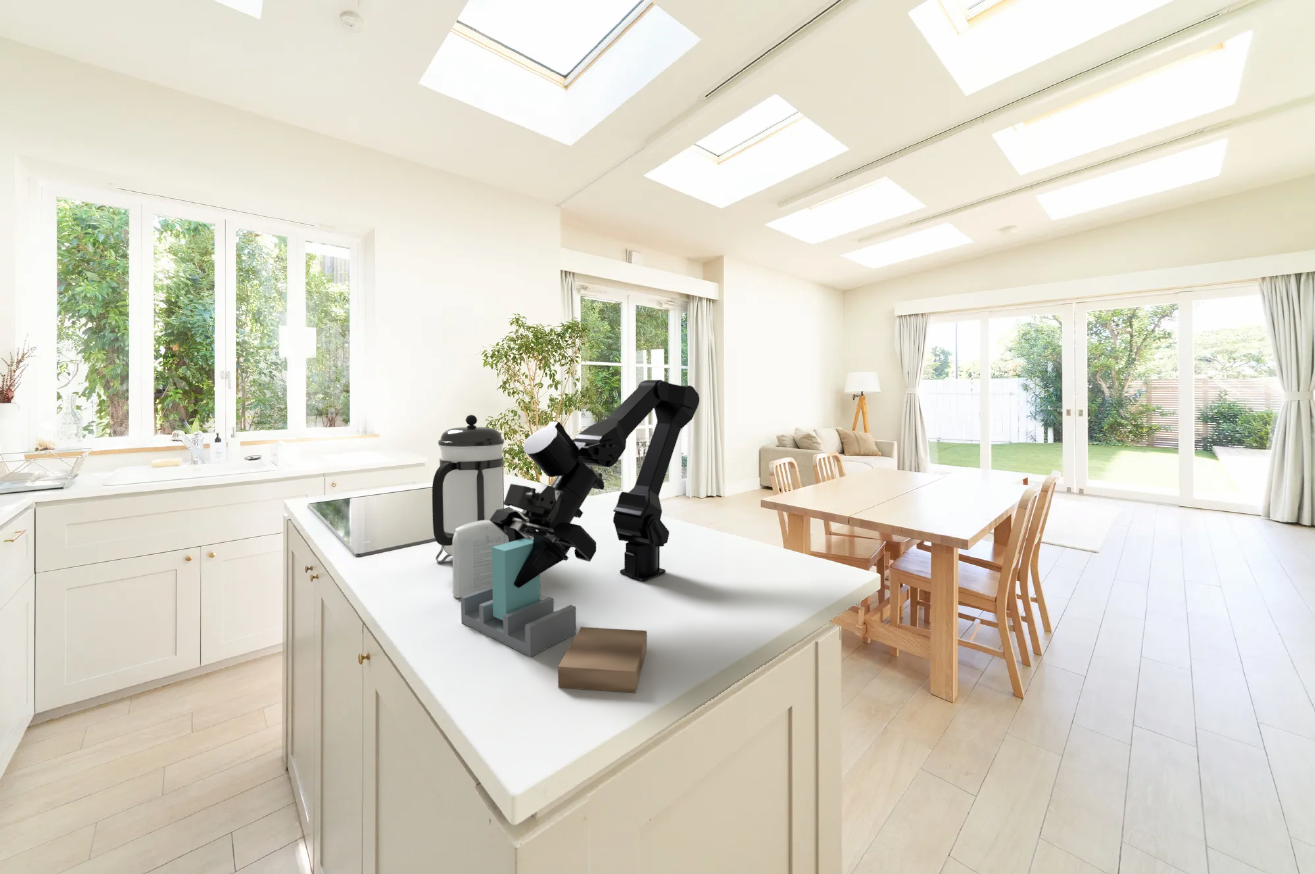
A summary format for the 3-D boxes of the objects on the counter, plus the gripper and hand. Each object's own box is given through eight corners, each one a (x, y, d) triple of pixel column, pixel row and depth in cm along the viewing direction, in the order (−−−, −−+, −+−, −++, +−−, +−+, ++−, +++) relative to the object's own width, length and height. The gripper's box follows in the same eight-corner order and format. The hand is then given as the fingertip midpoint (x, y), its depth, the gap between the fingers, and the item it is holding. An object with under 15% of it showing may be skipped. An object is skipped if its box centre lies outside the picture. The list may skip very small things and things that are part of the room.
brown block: (580, 644, 67) (580, 626, 66) (646, 648, 66) (646, 630, 65) (558, 687, 57) (558, 666, 57) (635, 692, 56) (635, 671, 56)
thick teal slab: (527, 602, 74) (526, 537, 74) (540, 607, 73) (539, 541, 72) (493, 616, 70) (491, 546, 69) (506, 621, 68) (504, 551, 67)
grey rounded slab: (510, 581, 90) (509, 514, 89) (518, 588, 86) (517, 519, 85) (450, 593, 84) (449, 522, 83) (455, 601, 81) (454, 527, 80)
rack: (507, 605, 79) (506, 581, 79) (575, 633, 70) (575, 606, 69) (461, 622, 73) (460, 596, 73) (530, 657, 63) (529, 627, 63)
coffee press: (427, 552, 106) (423, 414, 104) (502, 542, 114) (500, 413, 112) (434, 578, 91) (430, 416, 89) (521, 564, 99) (519, 415, 97)
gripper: (499, 458, 78) (434, 541, 70) (581, 468, 67) (515, 569, 59) (539, 499, 85) (484, 579, 77) (619, 514, 74) (565, 610, 66)
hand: (508, 583), depth 70 cm, fingers closed on thick teal slab, 3 cm apart
